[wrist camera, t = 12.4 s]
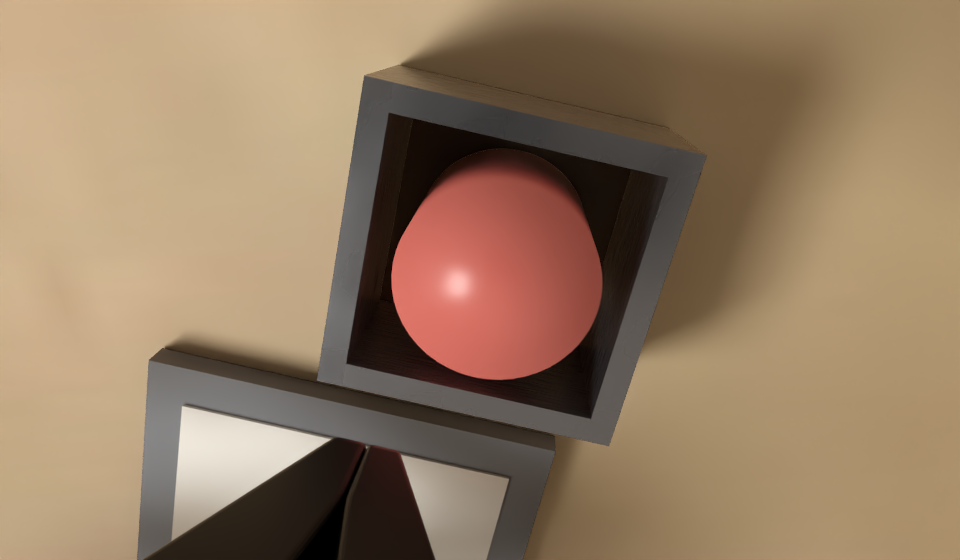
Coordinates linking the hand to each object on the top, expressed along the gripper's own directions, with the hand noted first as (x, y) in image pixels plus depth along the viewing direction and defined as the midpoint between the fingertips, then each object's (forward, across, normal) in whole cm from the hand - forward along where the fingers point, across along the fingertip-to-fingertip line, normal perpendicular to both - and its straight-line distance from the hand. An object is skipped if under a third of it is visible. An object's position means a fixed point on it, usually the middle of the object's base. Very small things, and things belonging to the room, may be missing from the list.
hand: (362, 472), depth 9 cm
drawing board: (+11, +2, +12) cm, 17 cm away
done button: (+10, -1, -1) cm, 10 cm away
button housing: (+11, -1, -1) cm, 11 cm away
